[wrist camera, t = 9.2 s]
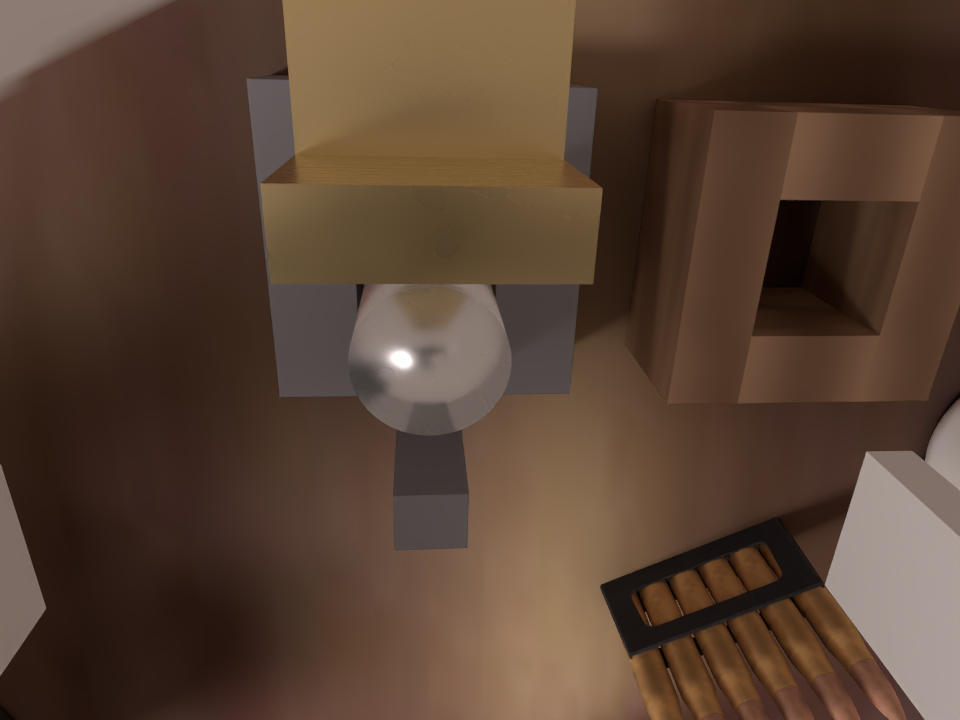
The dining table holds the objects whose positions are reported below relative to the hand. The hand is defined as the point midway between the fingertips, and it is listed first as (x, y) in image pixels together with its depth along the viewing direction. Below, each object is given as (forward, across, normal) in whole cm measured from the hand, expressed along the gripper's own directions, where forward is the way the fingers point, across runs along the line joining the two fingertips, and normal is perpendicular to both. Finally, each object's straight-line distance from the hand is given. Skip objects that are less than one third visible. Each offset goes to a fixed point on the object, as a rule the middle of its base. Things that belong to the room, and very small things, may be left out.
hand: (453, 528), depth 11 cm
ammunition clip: (+21, +14, -19) cm, 32 cm away
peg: (+20, 0, 0) cm, 21 cm away
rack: (+21, +14, 0) cm, 25 cm away
